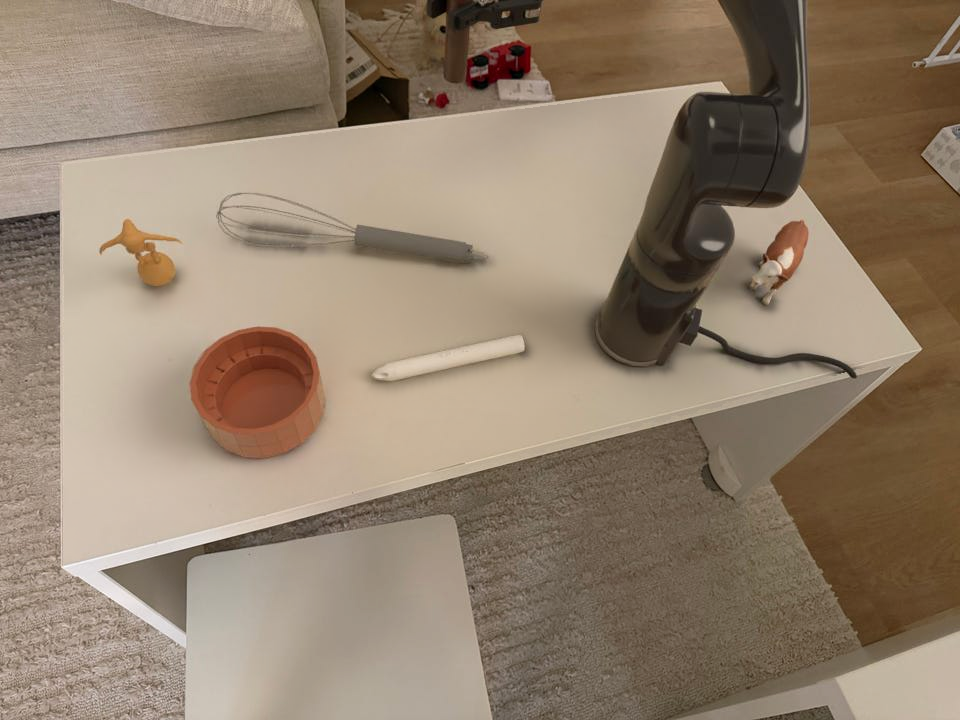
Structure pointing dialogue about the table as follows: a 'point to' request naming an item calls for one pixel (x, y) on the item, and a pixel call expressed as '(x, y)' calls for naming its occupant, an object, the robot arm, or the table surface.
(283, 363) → the bowl
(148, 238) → the figurine
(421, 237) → the kitchen whisk
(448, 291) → the table surface
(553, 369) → the table surface
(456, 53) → the stirring stick
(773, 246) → the bull figurine
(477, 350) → the marker
